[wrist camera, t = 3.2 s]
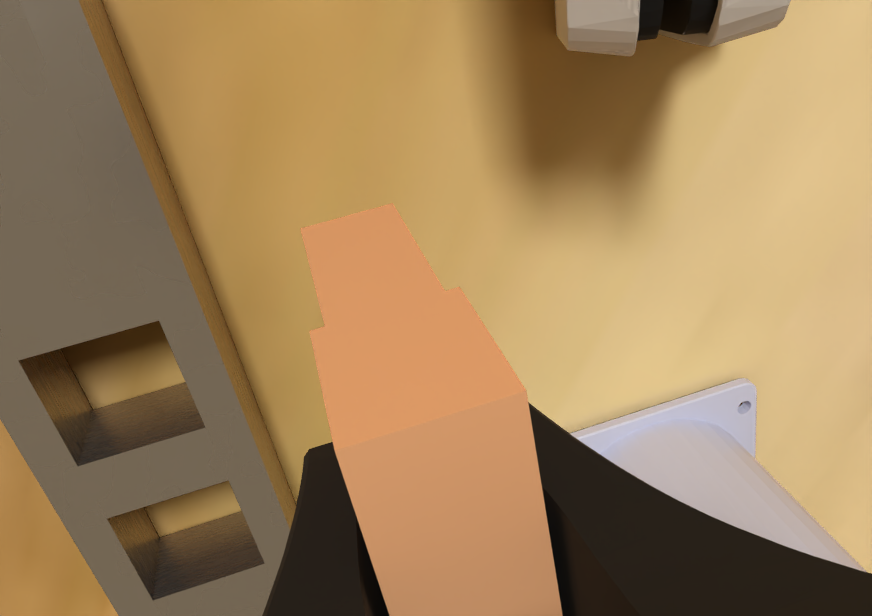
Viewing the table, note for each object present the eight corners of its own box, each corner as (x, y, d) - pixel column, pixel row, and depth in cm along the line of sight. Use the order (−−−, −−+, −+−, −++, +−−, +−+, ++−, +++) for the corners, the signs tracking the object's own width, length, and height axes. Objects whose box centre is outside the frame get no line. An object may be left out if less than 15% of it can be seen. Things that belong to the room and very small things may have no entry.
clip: (468, 486, 16) (585, 757, 11) (378, 516, 16) (453, 807, 11) (404, 199, 13) (525, 391, 8) (289, 231, 13) (334, 451, 7)
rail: (353, 653, 28) (364, 714, 26) (212, 702, 27) (211, 770, 25) (77, -63, 16) (54, -60, 14) (-182, -6, 15) (-249, 6, 13)
